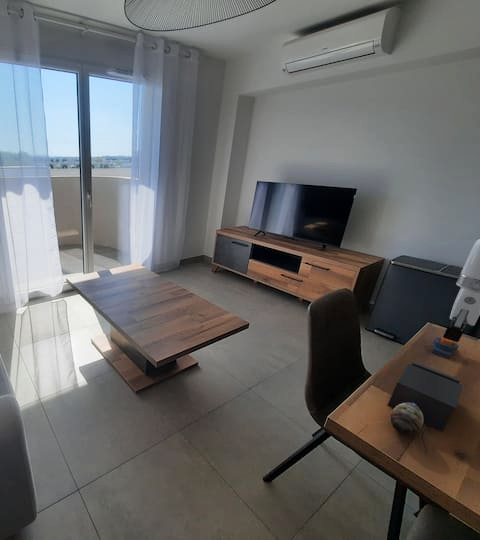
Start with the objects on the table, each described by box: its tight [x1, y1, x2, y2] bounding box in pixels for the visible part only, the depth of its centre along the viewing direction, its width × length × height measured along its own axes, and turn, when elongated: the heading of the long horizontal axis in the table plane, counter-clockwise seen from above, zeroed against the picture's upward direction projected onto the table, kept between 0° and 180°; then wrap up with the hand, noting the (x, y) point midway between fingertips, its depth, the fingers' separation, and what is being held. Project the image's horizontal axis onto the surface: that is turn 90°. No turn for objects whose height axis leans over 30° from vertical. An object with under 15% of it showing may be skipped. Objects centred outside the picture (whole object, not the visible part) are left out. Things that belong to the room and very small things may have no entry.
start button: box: [440, 336, 455, 346], centre depth 103 cm, size 3×3×2 cm
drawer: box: [411, 361, 461, 384], centre depth 84 cm, size 15×10×7 cm, turn 127°
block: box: [431, 337, 460, 360], centre depth 104 cm, size 10×6×4 cm, turn 127°
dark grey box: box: [387, 363, 464, 433], centre depth 80 cm, size 12×11×8 cm
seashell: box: [390, 403, 424, 436], centre depth 74 cm, size 10×6×8 cm, turn 125°
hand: (450, 338), depth 86 cm, fingers closed
